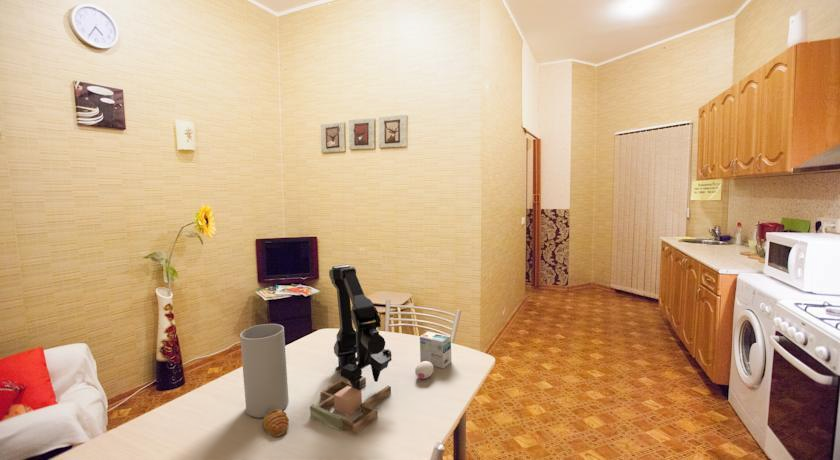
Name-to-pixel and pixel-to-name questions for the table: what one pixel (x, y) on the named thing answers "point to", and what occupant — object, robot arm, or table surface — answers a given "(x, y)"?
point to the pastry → (276, 422)
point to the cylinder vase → (264, 369)
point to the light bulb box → (435, 349)
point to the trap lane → (340, 423)
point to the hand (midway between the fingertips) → (367, 387)
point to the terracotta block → (347, 400)
